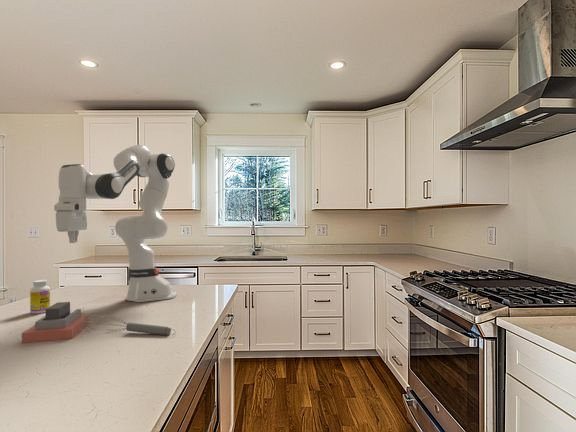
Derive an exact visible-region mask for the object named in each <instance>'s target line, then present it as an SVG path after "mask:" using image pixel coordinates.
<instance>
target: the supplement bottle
mask: <svg viewBox="0 0 576 432" xmlns="http://www.w3.org/2000/svg"><path fill="white" fill-rule="evenodd" d="M47 284H48V280H47V279H38V280H33V281H32V285H33V287H30V291H29V293H30V294H29V300H30V301H29V305H30V306H29V311H30V314H33V315H34V314H35V315H38V314H44V313H45V314H46V310H45V309H47V308H49V307H50V306H51V288H50V286H48V285H47Z"/></svg>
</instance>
